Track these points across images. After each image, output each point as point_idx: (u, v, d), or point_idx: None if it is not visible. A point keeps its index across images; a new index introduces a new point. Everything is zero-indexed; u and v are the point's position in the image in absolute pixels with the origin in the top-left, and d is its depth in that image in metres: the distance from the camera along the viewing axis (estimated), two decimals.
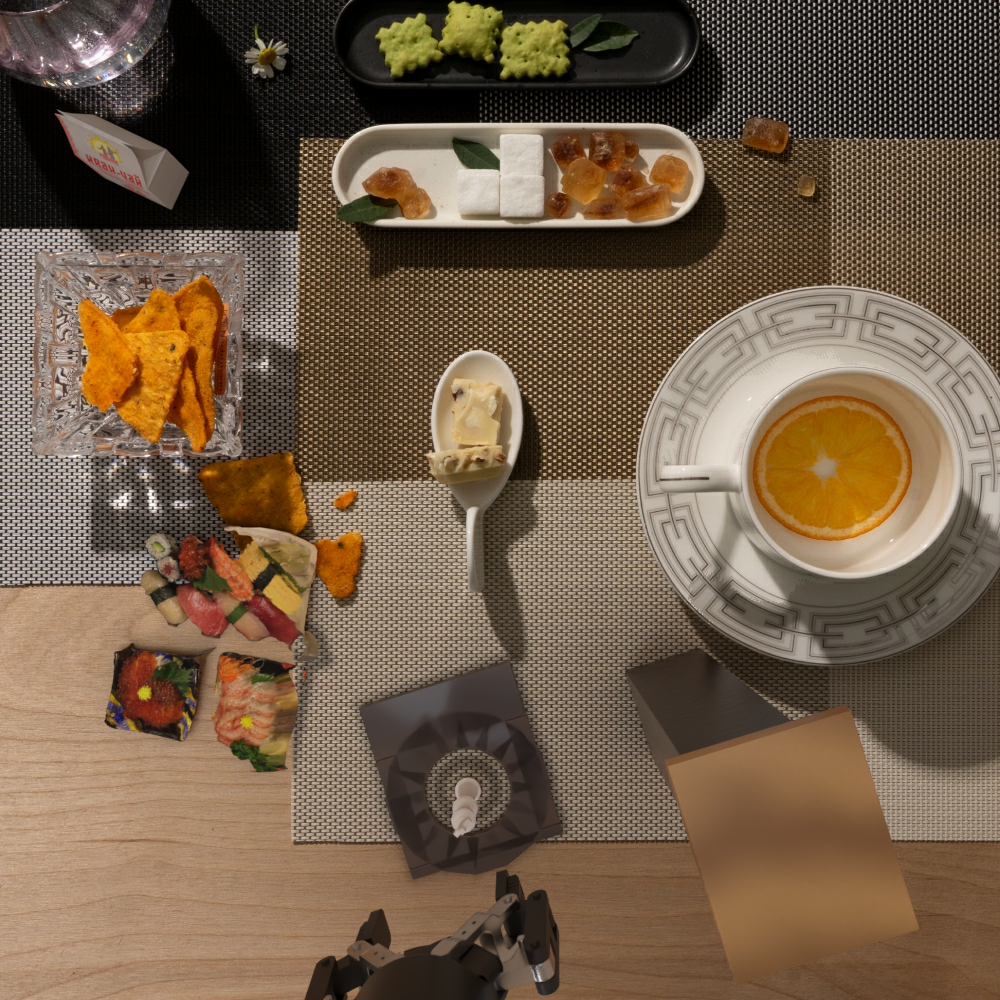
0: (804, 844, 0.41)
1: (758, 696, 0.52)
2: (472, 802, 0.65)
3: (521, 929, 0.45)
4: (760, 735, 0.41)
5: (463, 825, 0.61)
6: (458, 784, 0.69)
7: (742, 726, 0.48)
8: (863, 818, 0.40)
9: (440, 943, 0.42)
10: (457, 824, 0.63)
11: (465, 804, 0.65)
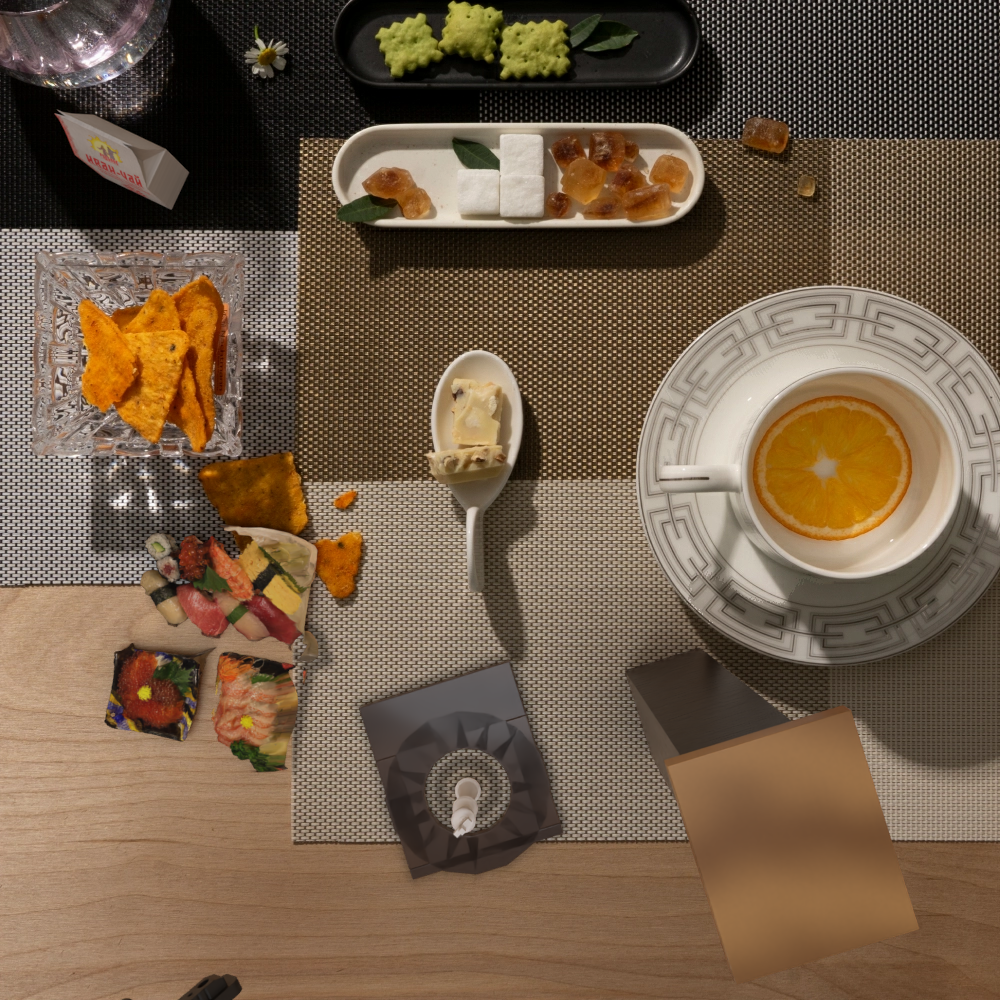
0: (804, 844, 0.41)
1: (758, 696, 0.52)
2: (472, 802, 0.65)
3: None
4: (760, 735, 0.41)
5: (463, 825, 0.61)
6: (458, 784, 0.69)
7: (742, 726, 0.48)
8: (863, 818, 0.40)
9: None
10: (457, 824, 0.63)
11: (465, 804, 0.65)
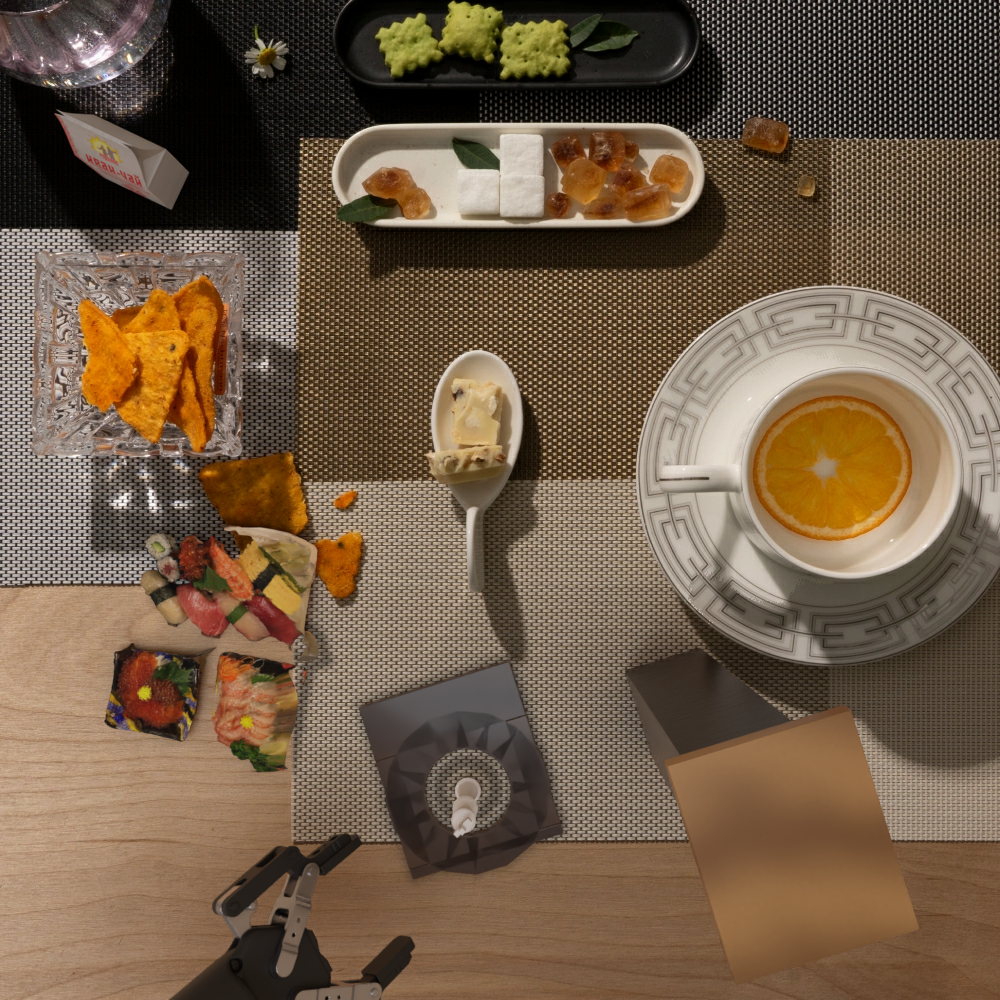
0: (804, 844, 0.41)
1: (758, 696, 0.52)
2: (472, 802, 0.65)
3: (295, 874, 0.54)
4: (760, 735, 0.41)
5: (463, 825, 0.61)
6: (458, 784, 0.69)
7: (742, 726, 0.48)
8: (863, 818, 0.40)
9: None
10: (457, 824, 0.63)
11: (465, 804, 0.65)
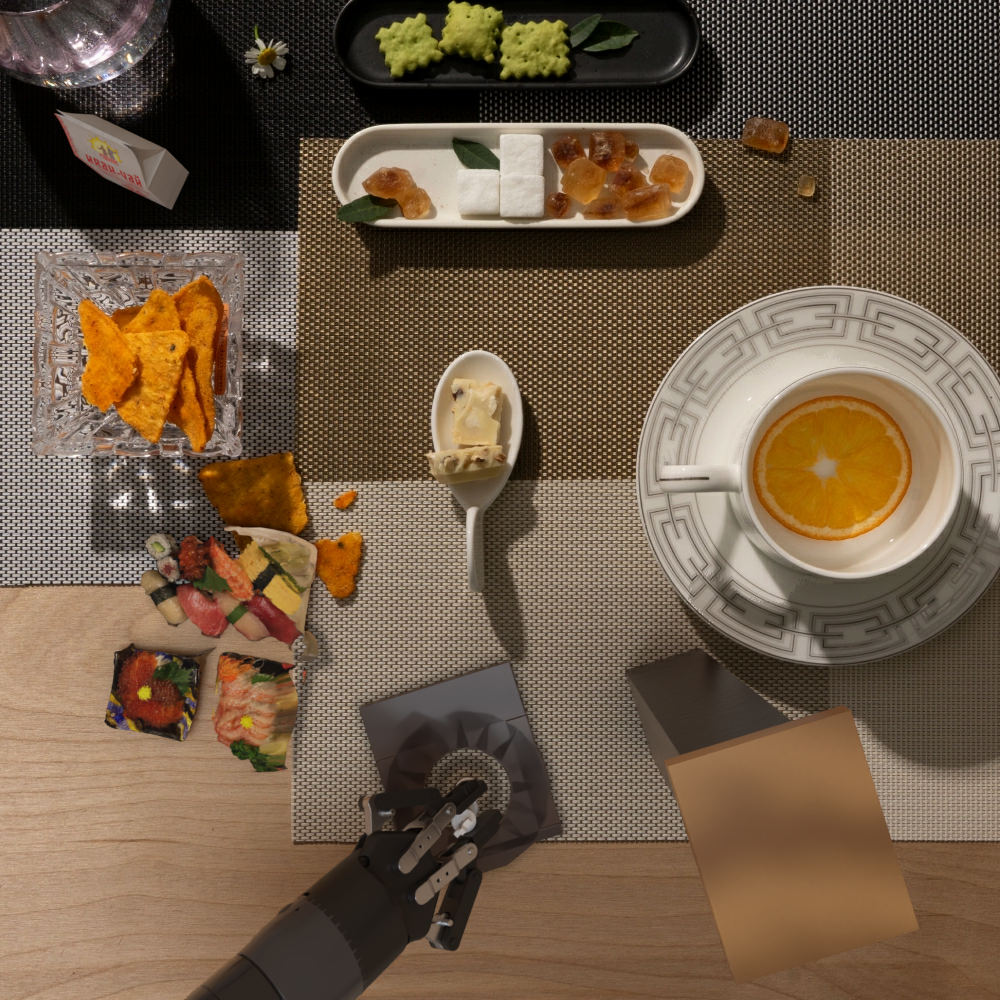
0: (804, 844, 0.41)
1: (758, 696, 0.52)
2: None
3: (435, 813, 0.61)
4: (760, 735, 0.41)
5: (464, 825, 0.61)
6: None
7: (742, 726, 0.48)
8: (863, 818, 0.40)
9: None
10: (457, 824, 0.63)
11: None
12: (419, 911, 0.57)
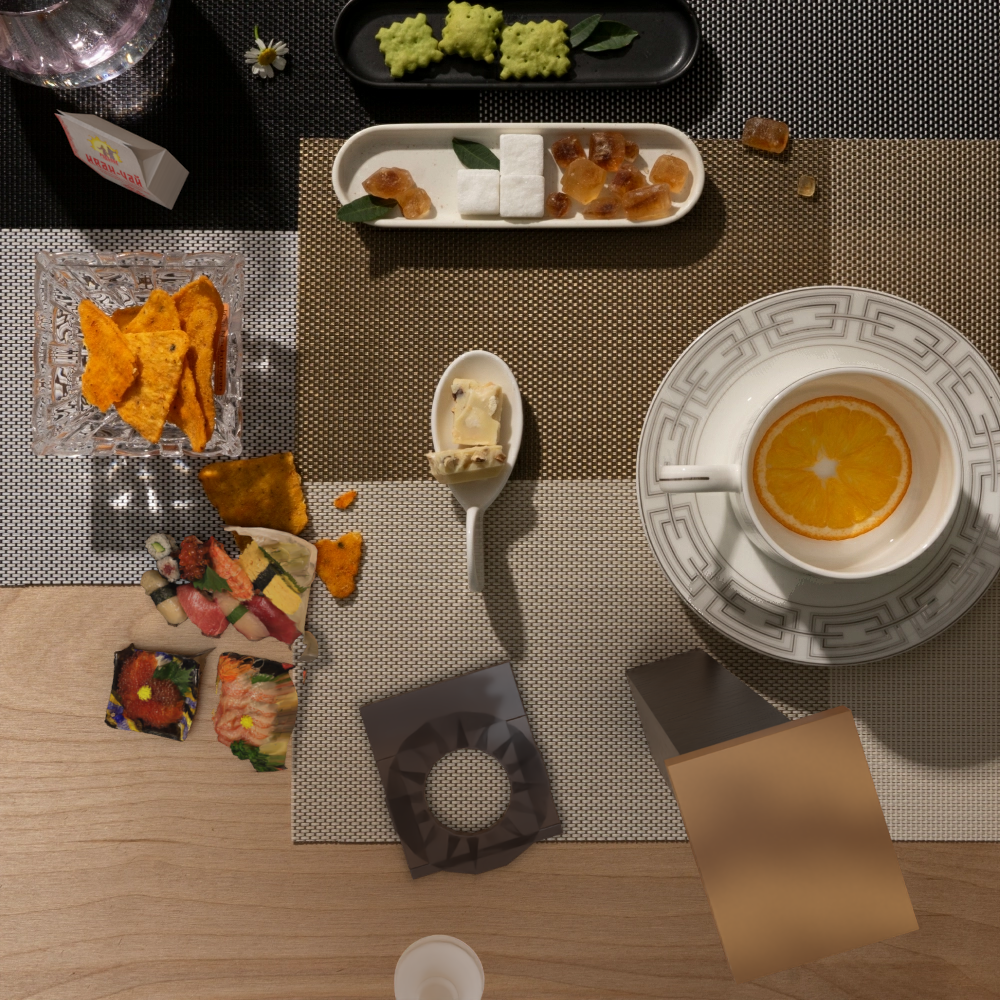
0: (804, 844, 0.41)
1: (758, 696, 0.52)
2: None
3: None
4: (760, 735, 0.41)
5: None
6: (420, 987, 0.41)
7: (742, 726, 0.48)
8: (863, 818, 0.40)
9: None
10: None
11: None
12: None
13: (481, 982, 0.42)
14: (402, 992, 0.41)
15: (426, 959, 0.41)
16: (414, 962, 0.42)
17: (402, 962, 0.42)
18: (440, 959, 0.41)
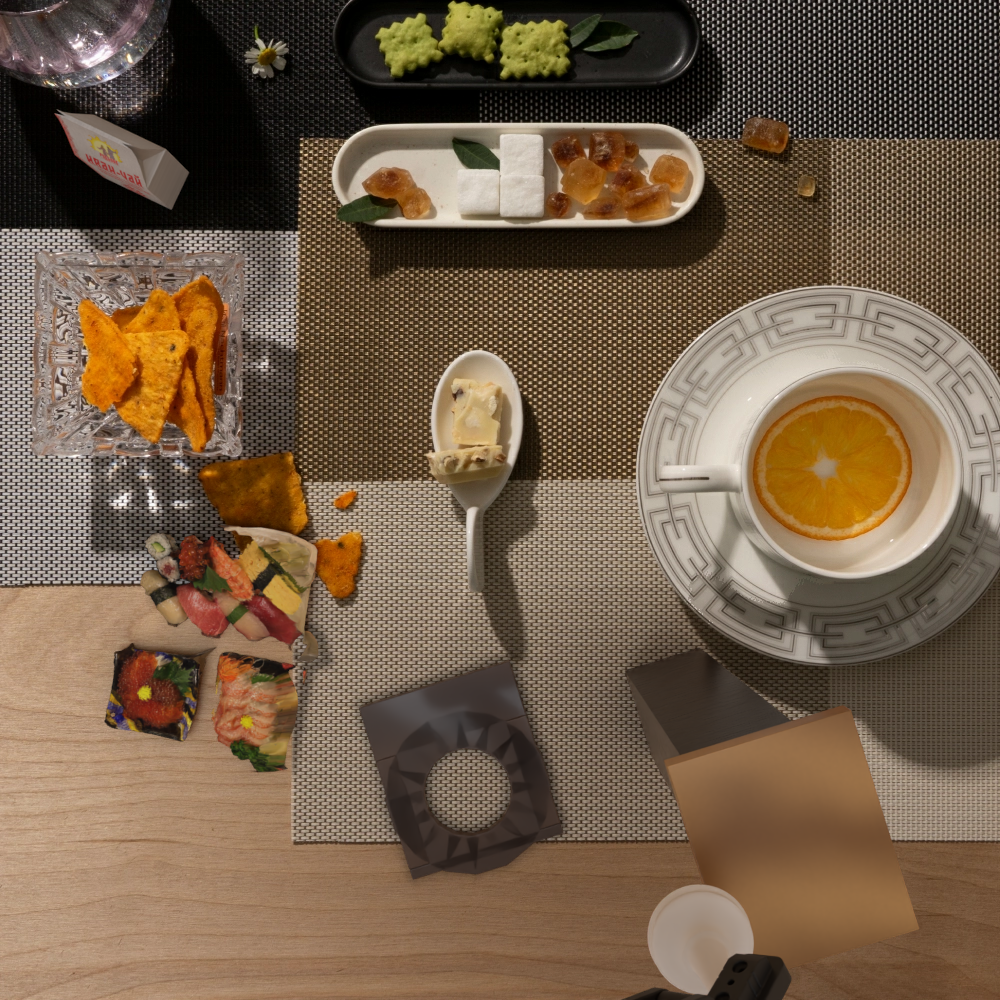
0: (804, 844, 0.41)
1: (758, 696, 0.52)
2: None
3: None
4: (760, 735, 0.41)
5: None
6: (689, 943, 0.35)
7: (742, 726, 0.48)
8: (863, 818, 0.40)
9: None
10: None
11: None
12: None
13: (752, 938, 0.36)
14: (663, 950, 0.36)
15: (691, 911, 0.36)
16: (676, 915, 0.36)
17: (661, 915, 0.36)
18: (707, 911, 0.36)
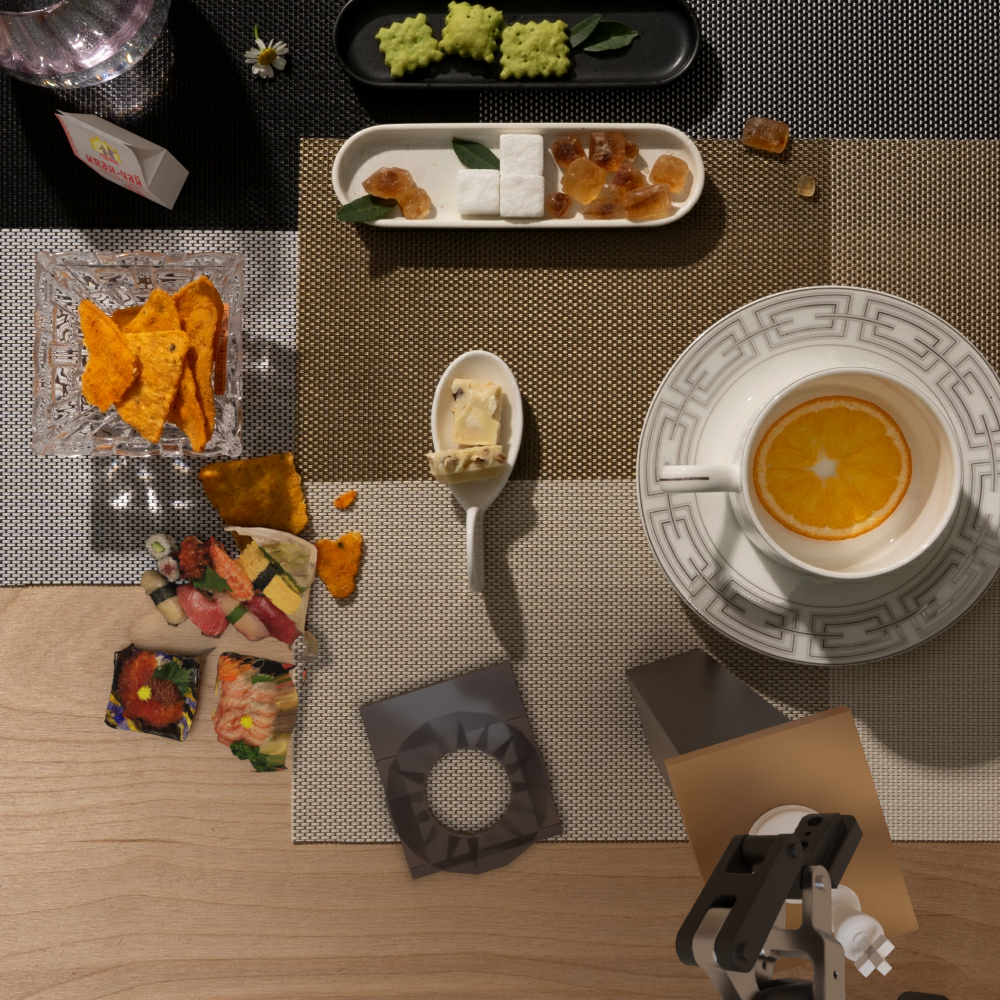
0: None
1: (758, 696, 0.52)
2: (852, 897, 0.35)
3: (790, 887, 0.29)
4: (760, 735, 0.41)
5: (879, 953, 0.31)
6: None
7: (742, 726, 0.48)
8: (863, 818, 0.40)
9: None
10: (851, 946, 0.32)
11: (841, 901, 0.34)
12: None
13: None
14: None
15: (787, 827, 0.40)
16: (773, 831, 0.40)
17: (759, 831, 0.40)
18: None
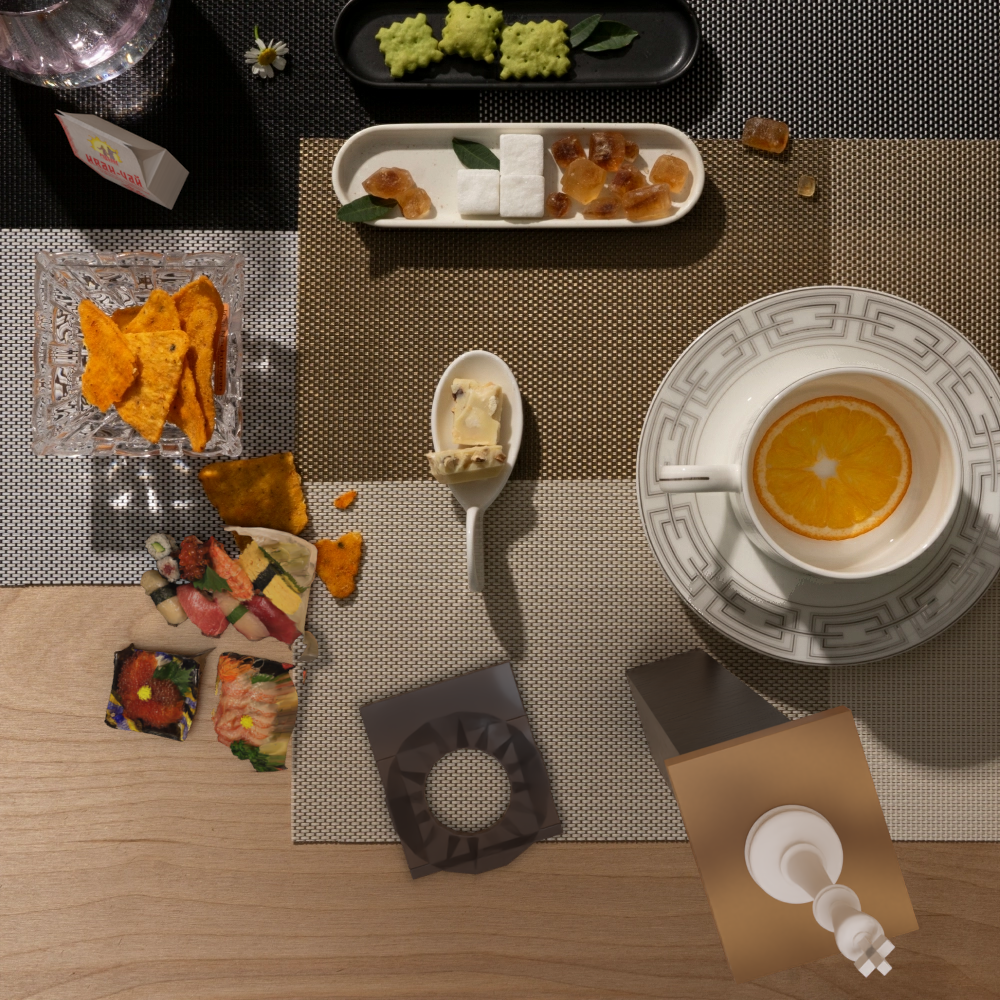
0: None
1: (758, 696, 0.52)
2: (852, 897, 0.35)
3: None
4: (760, 735, 0.41)
5: (879, 953, 0.31)
6: (787, 855, 0.39)
7: (742, 726, 0.48)
8: (863, 818, 0.40)
9: None
10: (851, 946, 0.32)
11: (841, 901, 0.34)
12: None
13: (842, 852, 0.40)
14: (761, 862, 0.40)
15: (787, 827, 0.40)
16: (773, 831, 0.40)
17: (759, 831, 0.40)
18: (802, 827, 0.39)
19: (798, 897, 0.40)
